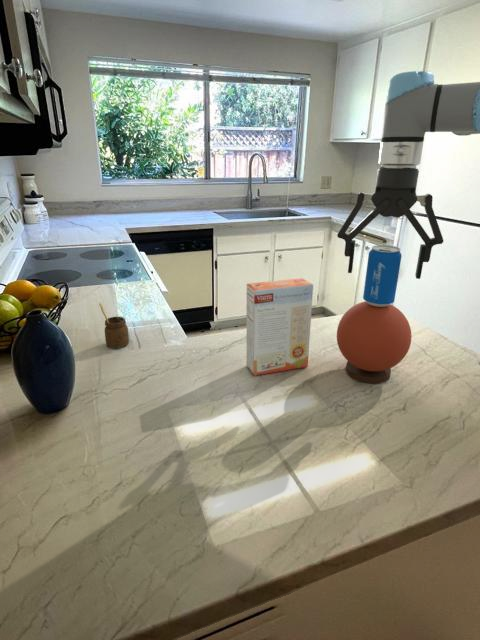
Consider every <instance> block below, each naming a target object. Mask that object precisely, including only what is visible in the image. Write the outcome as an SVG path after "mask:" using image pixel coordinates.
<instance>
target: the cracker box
mask: <svg viewBox="0 0 480 640" xmlns="http://www.w3.org/2000/svg"><path fill="white" fill-rule="evenodd" d="M313 293H314V284H313V283H311V282H309V280H306V279H304V278H302V277H299V278H290V279H289V278H288V279H280V280H271V281H259V282H251V283H246V366H247V368H248V369H249V371H250V372H251V374H252V375H253V376H254V377H255V376H260V375H268V374H273V373H278V372H285V371H291V370H295V369H296V370H297V369H301V368H307V367H308V366H309V353H310V352H309V351H310V337H311V327H312V326H311V324H312V309H313V308H312V307H313Z"/></svg>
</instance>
